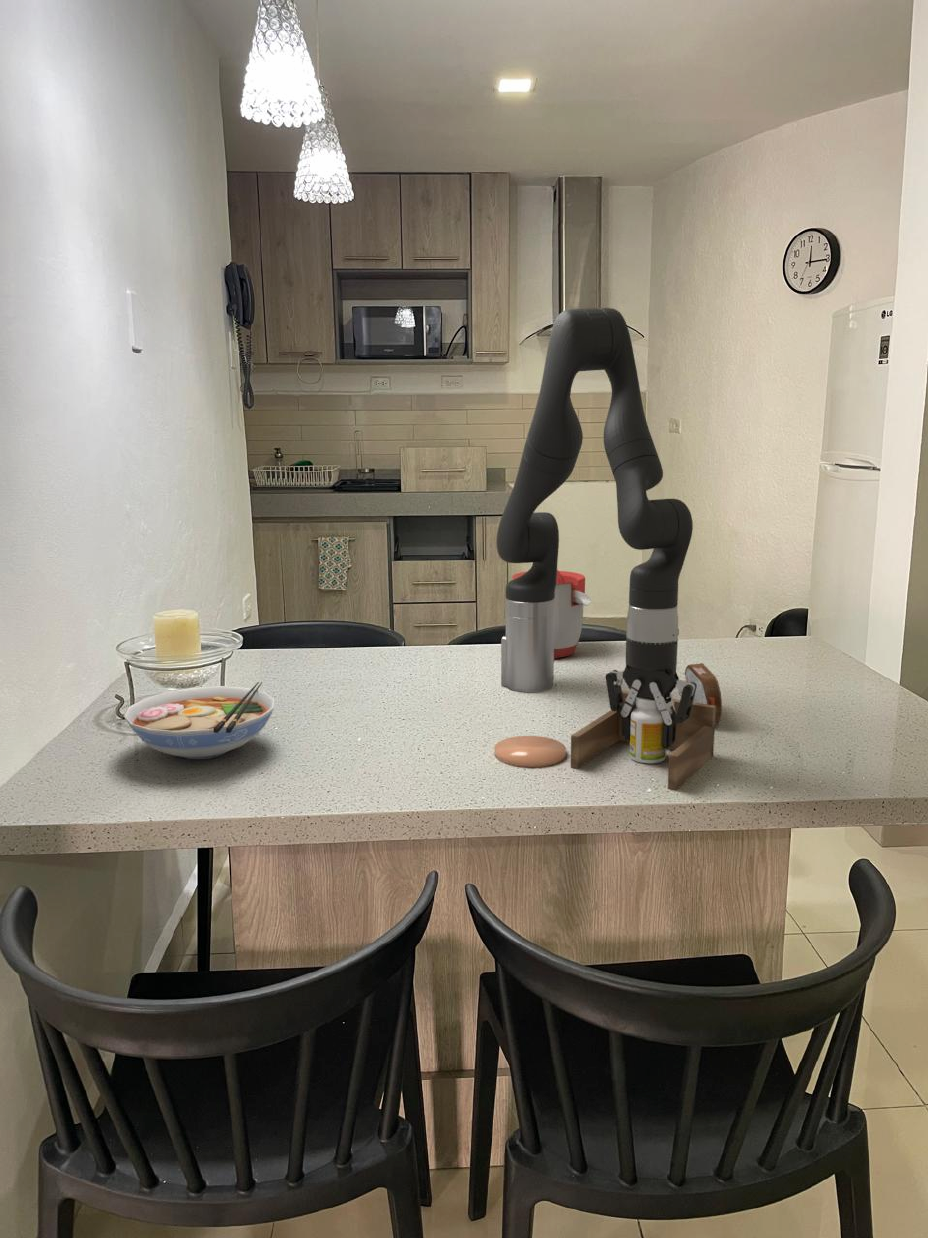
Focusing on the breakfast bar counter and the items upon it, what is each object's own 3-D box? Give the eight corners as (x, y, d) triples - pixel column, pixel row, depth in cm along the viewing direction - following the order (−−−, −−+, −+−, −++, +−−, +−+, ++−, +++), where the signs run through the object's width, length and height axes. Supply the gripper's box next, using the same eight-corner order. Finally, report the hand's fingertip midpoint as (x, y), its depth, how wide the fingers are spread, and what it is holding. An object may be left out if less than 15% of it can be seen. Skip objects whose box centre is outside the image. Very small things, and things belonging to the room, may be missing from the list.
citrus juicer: (570, 667, 195) (572, 571, 191) (498, 656, 205) (498, 564, 200) (603, 650, 208) (605, 560, 204) (533, 641, 217) (534, 554, 213)
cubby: (570, 767, 141) (571, 716, 140) (614, 736, 154) (616, 689, 153) (675, 790, 133) (678, 736, 131) (713, 755, 146) (715, 705, 144)
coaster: (481, 758, 145) (481, 752, 145) (516, 737, 154) (517, 731, 154) (544, 772, 139) (544, 766, 139) (577, 750, 148) (578, 744, 148)
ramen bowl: (159, 725, 162) (155, 679, 160) (293, 725, 161) (290, 679, 159) (100, 782, 137) (94, 728, 135) (256, 782, 137) (253, 728, 135)
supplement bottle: (672, 757, 145) (674, 696, 143) (653, 767, 141) (655, 704, 139) (641, 749, 149) (643, 689, 146) (622, 758, 145) (624, 697, 143)
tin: (722, 730, 157) (725, 681, 155) (703, 730, 157) (705, 681, 155) (698, 702, 172) (700, 657, 170) (681, 702, 172) (683, 657, 170)
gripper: (596, 633, 141) (594, 741, 145) (689, 646, 134) (684, 759, 137) (617, 624, 147) (614, 727, 151) (707, 635, 140) (702, 744, 144)
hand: (648, 742), depth 144 cm, fingers closed on supplement bottle, 5 cm apart
